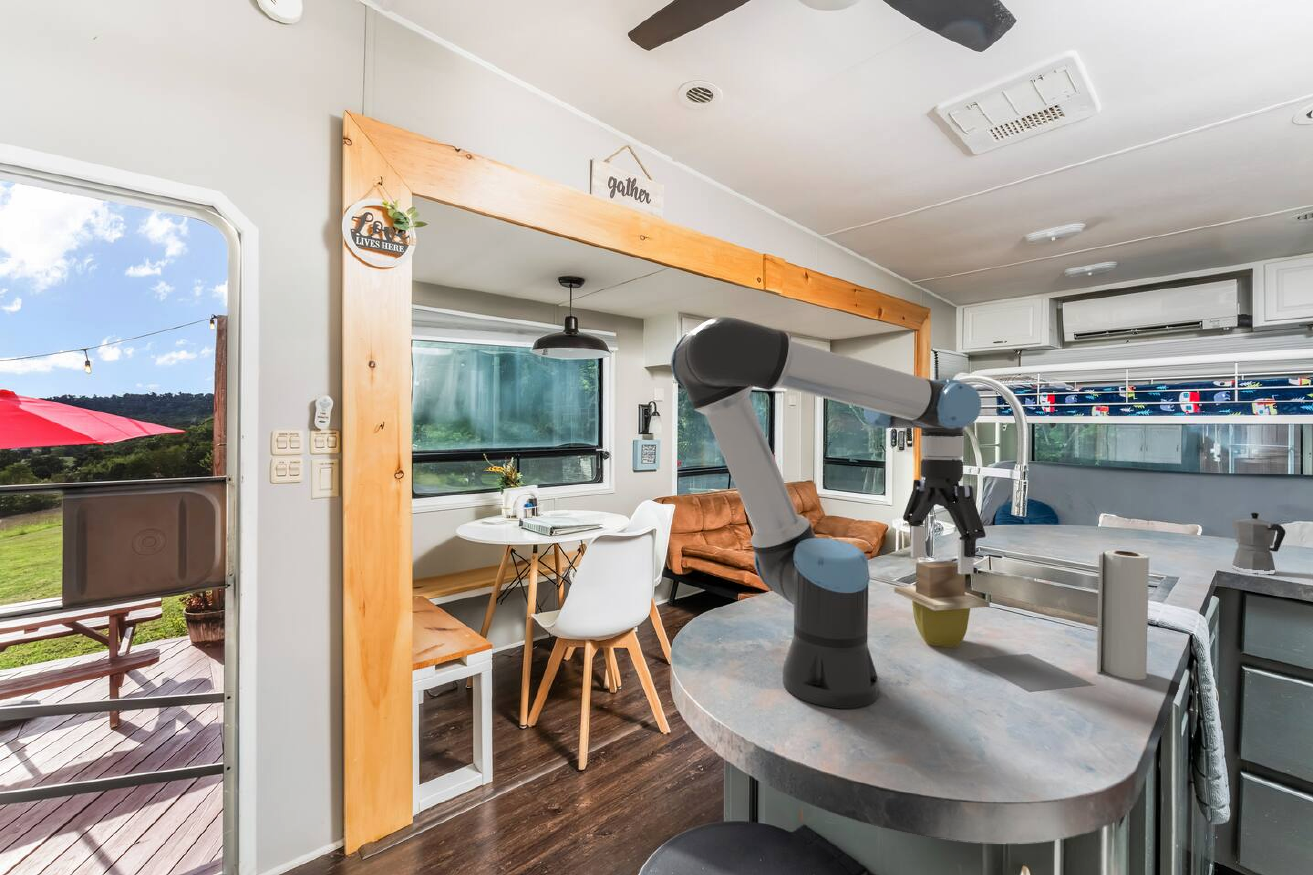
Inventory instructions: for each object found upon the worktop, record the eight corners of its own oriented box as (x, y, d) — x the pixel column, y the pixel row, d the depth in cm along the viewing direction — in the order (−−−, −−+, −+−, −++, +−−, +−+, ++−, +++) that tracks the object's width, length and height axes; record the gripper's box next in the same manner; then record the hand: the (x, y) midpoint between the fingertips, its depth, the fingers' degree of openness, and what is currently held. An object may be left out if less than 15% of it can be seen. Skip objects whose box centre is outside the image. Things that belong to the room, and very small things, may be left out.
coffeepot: (1217, 565, 178) (1218, 509, 178) (1249, 566, 177) (1250, 509, 177) (1265, 578, 163) (1267, 516, 162) (1300, 579, 162) (1302, 517, 162)
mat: (1028, 694, 90) (1029, 691, 90) (968, 661, 103) (968, 658, 103) (1094, 687, 93) (1094, 684, 93) (1028, 655, 106) (1028, 653, 106)
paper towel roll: (1142, 671, 99) (1144, 551, 99) (1150, 685, 94) (1153, 558, 93) (1091, 662, 103) (1093, 546, 102) (1096, 675, 97) (1099, 553, 97)
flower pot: (970, 654, 106) (971, 607, 106) (921, 650, 108) (921, 604, 108) (955, 637, 115) (956, 593, 115) (910, 634, 117) (910, 591, 116)
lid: (934, 610, 104) (935, 573, 104) (894, 592, 116) (894, 558, 116) (989, 606, 107) (990, 570, 107) (944, 588, 118) (945, 556, 118)
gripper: (1009, 461, 99) (1007, 580, 100) (917, 455, 124) (915, 550, 124) (972, 462, 98) (971, 582, 98) (886, 455, 122) (885, 551, 123)
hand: (940, 565), depth 111 cm, fingers open, 13 cm apart
